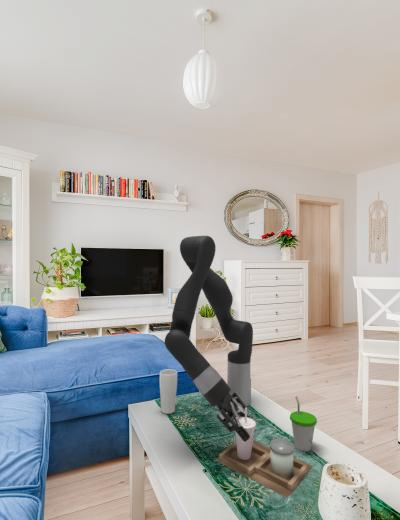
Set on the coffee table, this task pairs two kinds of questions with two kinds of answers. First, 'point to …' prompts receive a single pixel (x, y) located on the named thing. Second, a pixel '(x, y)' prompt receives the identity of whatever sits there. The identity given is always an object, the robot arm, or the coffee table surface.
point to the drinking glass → (168, 390)
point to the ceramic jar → (281, 458)
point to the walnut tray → (264, 468)
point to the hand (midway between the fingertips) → (250, 432)
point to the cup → (303, 429)
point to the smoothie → (246, 447)
